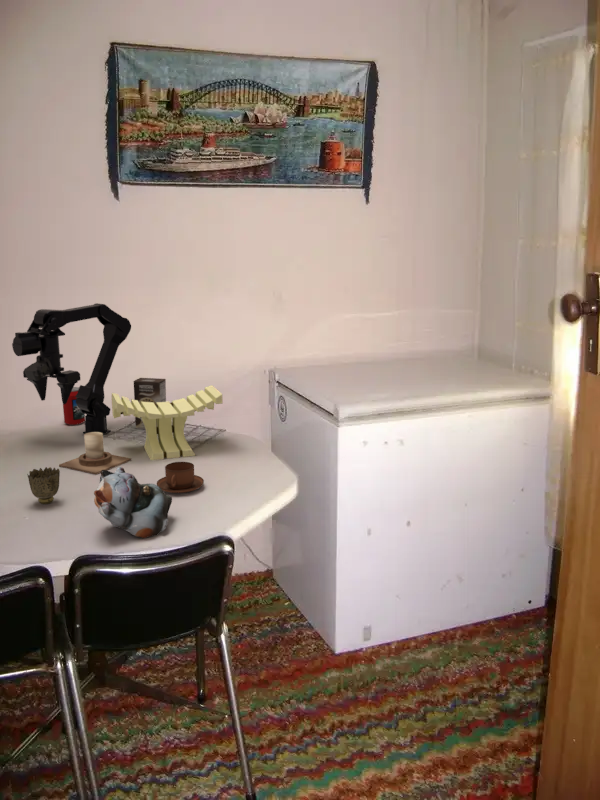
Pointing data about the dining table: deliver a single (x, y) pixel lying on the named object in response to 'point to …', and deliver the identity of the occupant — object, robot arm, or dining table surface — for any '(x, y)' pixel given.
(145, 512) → the lucky cat figurine
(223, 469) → the dining table surface
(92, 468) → the walnut socket
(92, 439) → the beige rounded peg
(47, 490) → the cup
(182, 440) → the slatted curved stool
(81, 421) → the beverage can
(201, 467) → the dining table surface
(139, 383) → the coffee box
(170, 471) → the cup and saucer
